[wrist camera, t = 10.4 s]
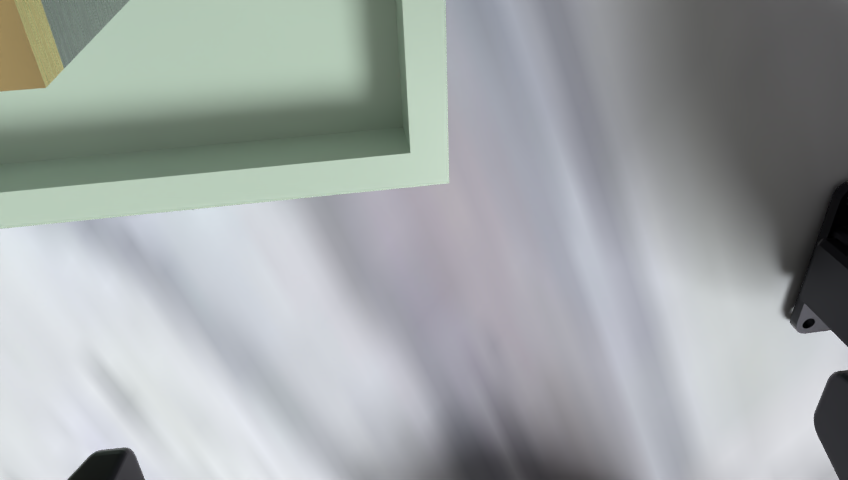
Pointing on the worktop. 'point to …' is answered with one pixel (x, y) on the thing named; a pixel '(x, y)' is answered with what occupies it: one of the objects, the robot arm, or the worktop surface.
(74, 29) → the pin
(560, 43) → the worktop surface
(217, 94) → the tray
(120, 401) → the worktop surface
